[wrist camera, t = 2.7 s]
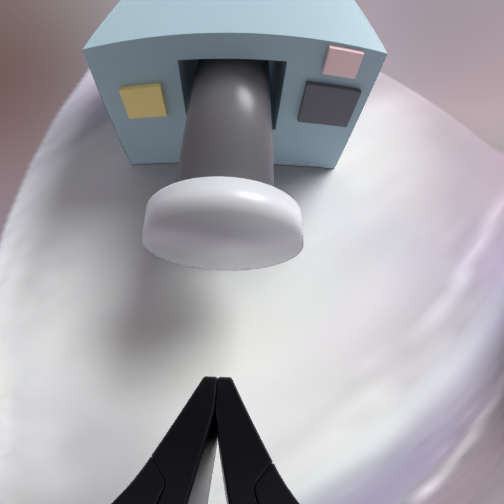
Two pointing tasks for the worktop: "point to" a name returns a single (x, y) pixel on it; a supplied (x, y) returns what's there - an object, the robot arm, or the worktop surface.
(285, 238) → the plug
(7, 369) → the worktop surface
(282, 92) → the socket block
